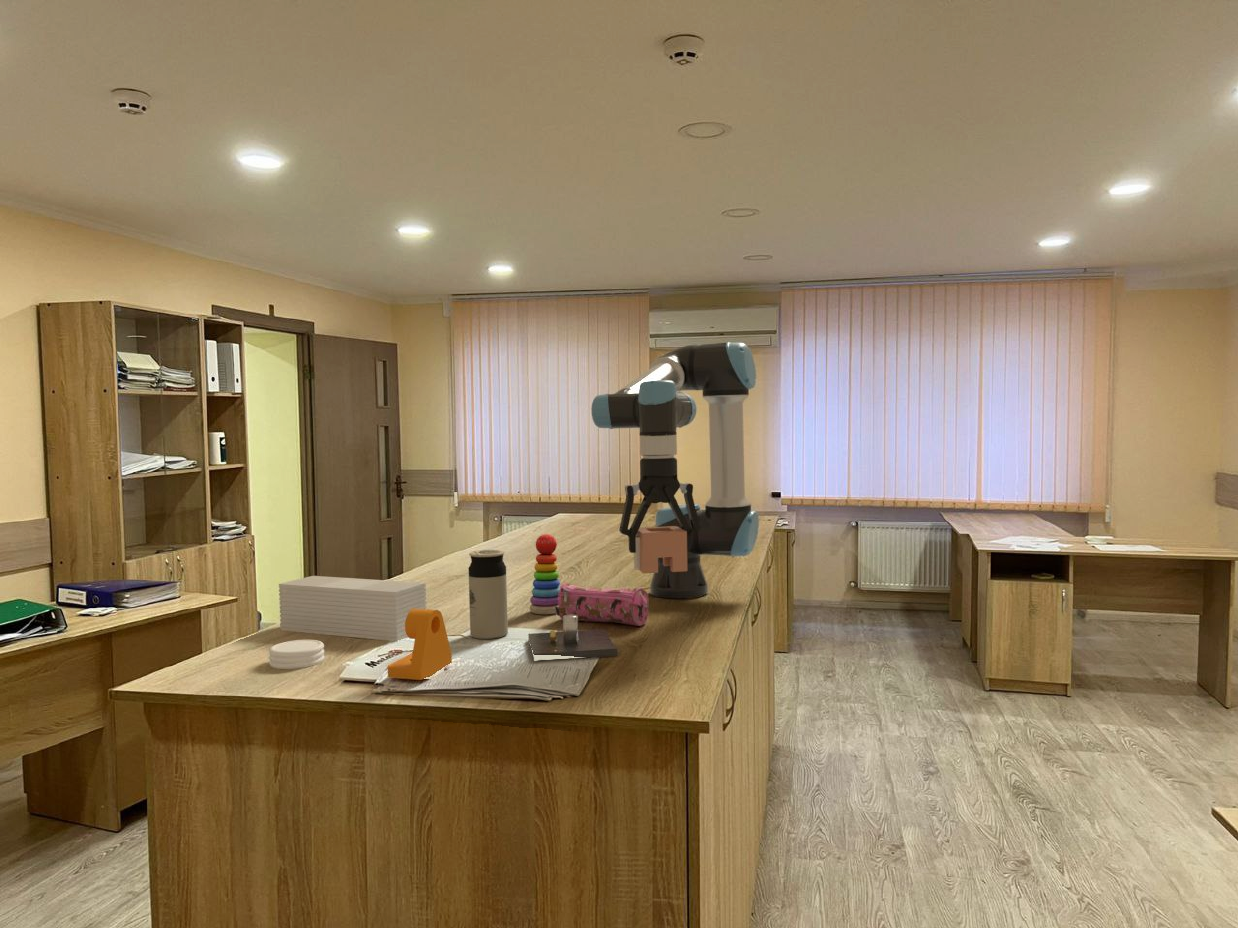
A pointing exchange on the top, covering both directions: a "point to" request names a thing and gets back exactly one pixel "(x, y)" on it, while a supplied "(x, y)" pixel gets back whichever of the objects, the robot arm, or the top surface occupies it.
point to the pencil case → (604, 604)
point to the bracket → (423, 646)
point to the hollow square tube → (662, 548)
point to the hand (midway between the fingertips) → (660, 567)
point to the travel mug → (488, 594)
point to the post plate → (574, 649)
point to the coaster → (296, 654)
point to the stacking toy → (545, 577)
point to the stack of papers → (349, 606)
